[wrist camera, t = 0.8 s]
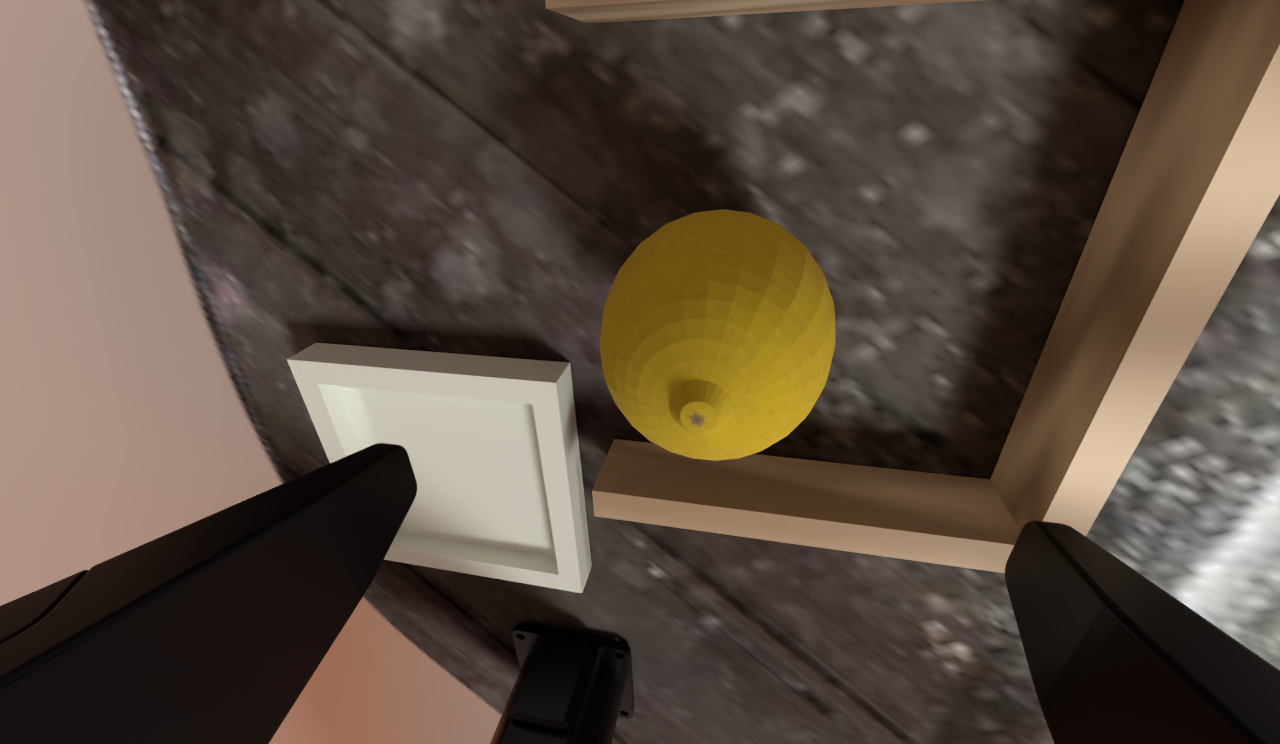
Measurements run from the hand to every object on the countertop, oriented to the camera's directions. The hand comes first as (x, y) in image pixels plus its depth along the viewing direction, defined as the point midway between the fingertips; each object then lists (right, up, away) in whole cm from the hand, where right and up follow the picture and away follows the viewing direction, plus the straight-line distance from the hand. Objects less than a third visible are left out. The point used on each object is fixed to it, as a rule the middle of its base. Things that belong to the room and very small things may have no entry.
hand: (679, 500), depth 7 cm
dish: (-8, -2, +15) cm, 17 cm away
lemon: (+2, +5, +9) cm, 10 cm away
